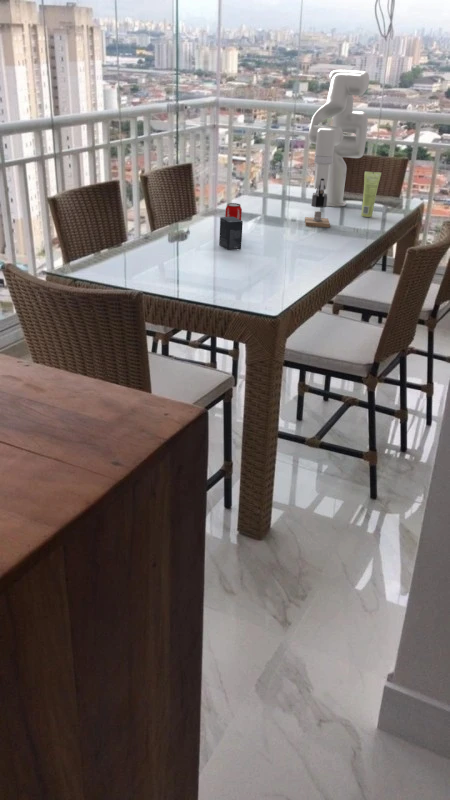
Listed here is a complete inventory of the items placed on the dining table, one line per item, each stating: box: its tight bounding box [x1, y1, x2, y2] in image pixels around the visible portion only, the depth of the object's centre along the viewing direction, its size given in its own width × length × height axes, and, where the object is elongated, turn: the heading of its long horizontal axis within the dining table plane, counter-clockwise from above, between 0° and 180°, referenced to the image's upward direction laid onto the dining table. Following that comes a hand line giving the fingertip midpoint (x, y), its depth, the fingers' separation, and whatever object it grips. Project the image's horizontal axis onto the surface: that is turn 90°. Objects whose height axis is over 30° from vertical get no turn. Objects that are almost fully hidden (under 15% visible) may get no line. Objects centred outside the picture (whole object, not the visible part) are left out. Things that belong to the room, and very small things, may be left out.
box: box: [218, 216, 243, 251], centre depth 259 cm, size 8×6×11 cm
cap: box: [310, 192, 327, 208], centre depth 296 cm, size 6×6×5 cm
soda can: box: [224, 202, 243, 221], centre depth 274 cm, size 6×6×12 cm
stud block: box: [304, 210, 331, 228], centre depth 300 cm, size 10×10×5 cm
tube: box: [360, 170, 382, 218], centre depth 314 cm, size 6×5×20 cm
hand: (318, 204), depth 297 cm, fingers closed on cap, 6 cm apart
